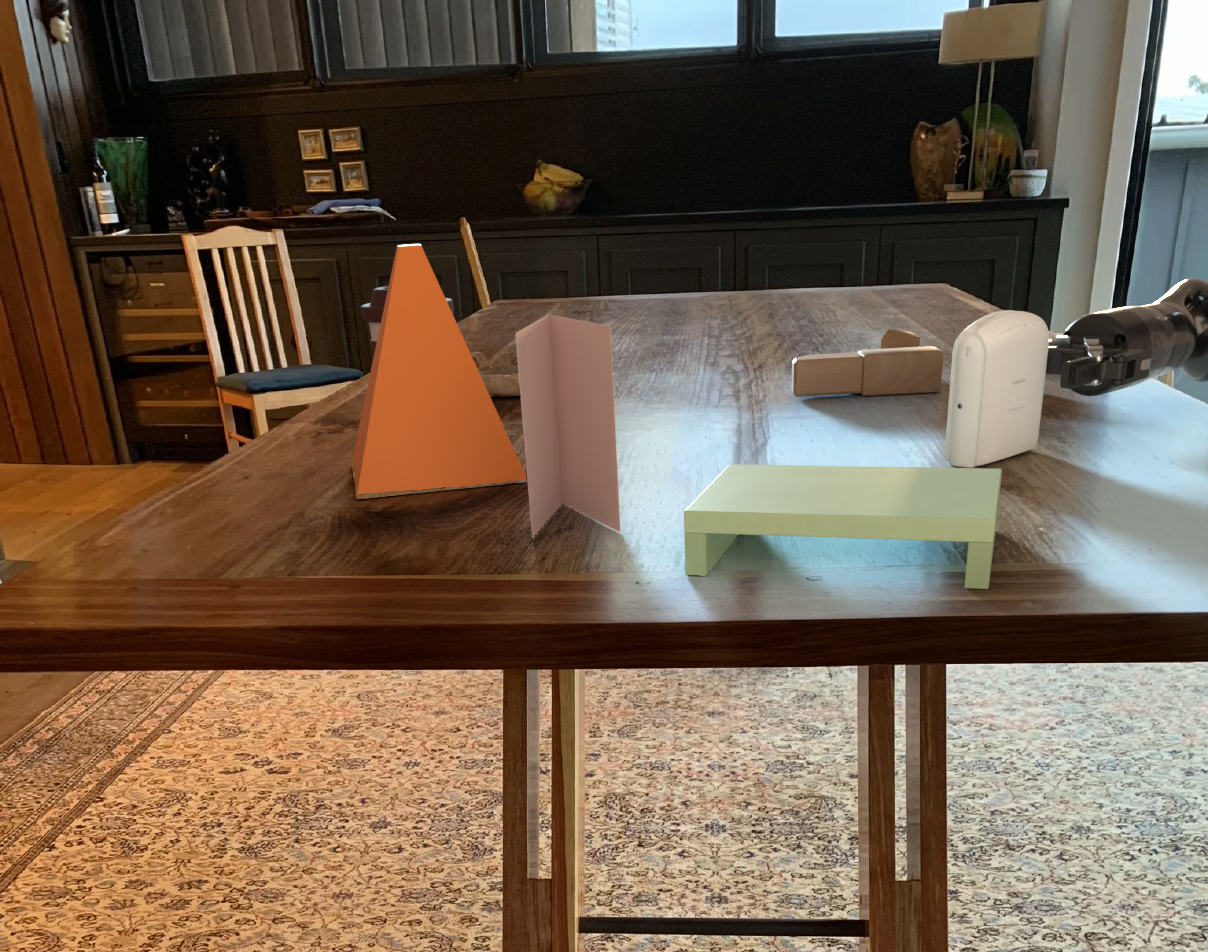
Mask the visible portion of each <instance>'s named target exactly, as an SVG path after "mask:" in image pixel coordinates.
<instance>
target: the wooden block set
mask: <svg viewBox="0 0 1208 952" xmlns="http://www.w3.org/2000/svg"><path fill="white" fill-rule="evenodd" d="M944 357H945V356H944V351H943V350H941V349H939V348H937V347H936V346H933V345H926V346H924V345H923V346H921V337H920V336H919V335H917V334H916V333H914V332H912V331H909V330H899V329H887V330H886V332H885V333H884V334H883V336H882V337H881V340H880V348H873V349H872V348H871V349H870V348H869V349H860V350H858V351H850V352H847V351H846V352H832V353H830V352H829V353H813V354H806V355H801V356H798V357H795V358H793V360H792V362H791V393H792V394H793V395H794V396H795V397H796V398H799V397H801V398H802V397H817V396H836V395H852V394H853V395H855V394H860V395H861V396H862V397H877V396H878V397H879V396H897V395H914V394H932V393H934V394H935V393H939V392H940V391H941V389H942V380H943V370H944V369H943V366H944Z"/></svg>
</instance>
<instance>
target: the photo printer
mask: <svg viewBox="0 0 1208 952" xmlns="http://www.w3.org/2000/svg"><path fill="white" fill-rule="evenodd" d="M1049 339H1050V333H1049V328H1048V325H1047V323H1046V322H1045V320H1044V319H1043V318H1042V317H1040V316H1039V315H1037V314H1034V313H1032V312H1029V311H1025V310H1024V311H1023V310H1011V309H1006V310H999V311H994V312H991V313H989V314H987V315H984V316H982V317H980V318H978V319H976V320H975V321H973V322H972V323H970V325H968V326H967V327H966V328H964V329H963V330H962V331H961V332H960V334H959V335H958V336H957V338H956V339H955V341H954V344H953V346H952V353H951V366H950V367H951V368H950V379H949V380H950V382H949V393H948V394H949V395H948V408H947V419H946V432H945V447H944V459H945V461H947V462H948V464H949V465H950V466H953V467H956V468H977V467H979V466H984V465H987V464H991V463H994V462H997V461H1000V460H1004V459H1008V458H1010V457H1014V456H1016V455H1019V454H1022V453H1025V452H1028V451H1030V450H1033V449H1035V448H1036V447H1037V444H1038V441H1039V436H1040V427H1041V418H1042V409H1043V401H1044V400H1043V399H1044V391H1045V384H1046V379H1045V374H1046V365H1047V356H1048V347H1049Z"/></svg>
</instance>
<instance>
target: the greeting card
mask: <svg viewBox="0 0 1208 952" xmlns="http://www.w3.org/2000/svg"><path fill="white" fill-rule="evenodd" d="M514 335H515V345H516V346H515V347H516V358H517V366H518V371H519V383H520V395H521V397H520V405H521V406H520V407H521V417H522V418H521V419H522V430H523V442H524V463H525V464H524V466H525V474H526V479H527V483H526V486H527V487H526V488H527V494H528V501H529V502H528V503H529V515H530V527H531V528H530V529H531V538H534V537H535V535H537V536H538V534H539V533H538V531H540V529H541V528H542V527H543V526H544V524H545V523H546V522H547V520H549V521H550V519H551V518H552V517H553V516H554V514H555V513H556V512H557V511H558V509H559V508H560V507H561V506H562V505H563V504H564V505H566V506H568V507H570V506H571V507H570V508H572V509H574V510H575V509H576V510H575V511H577V510H578V512H579V513H581V512H582V513H581V514H583V513H584V514H583V515H585V516H587V517H589V518H591V519H593V520H595V521H597V522H599V523H601V524H603V525H605V526H607V527H608V528H611V529H613V530H615V531H617V532H619V531H620V532H621V514H620V494H619V492H620V491H619V490H620V489H619V474H618V473H619V472H618V471H619V469H618V453H617V449H618V448H617V429H616V410H615V407H616V406H615V390H614V368H613V367H614V366H613V365H614V364H613V347H612V327H611V325H606V324H601V323H595V322H591V321H585V320H580V319H575V318H569V317H564V316H561V315H560V316H559V315H554V314H547V315H545V316H544V317H542V318H539V320H536V321H535V322H533V323H531V324H529V325H527V326H526V327H524V328H522V329H520V330H519V331H517V332H515V334H514ZM562 502H563V503H562ZM560 505H561V506H560ZM559 506H560V507H559ZM556 510H557V511H556ZM555 511H556V512H555ZM554 512H555V513H554ZM553 513H554V514H553ZM552 515H553V516H552ZM551 516H552V517H551ZM550 517H551V518H550ZM549 518H550V519H549ZM547 523H548V522H547ZM547 523H546V524H547ZM546 524H545V525H546ZM544 527H545V526H544ZM544 527H543V528H544ZM543 528H542V529H543ZM542 529H541V530H542ZM540 532H541V531H540ZM537 533H538V534H537ZM535 538H536V537H535ZM535 538H534V539H535Z"/></svg>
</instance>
